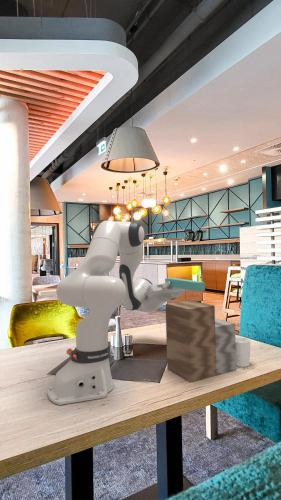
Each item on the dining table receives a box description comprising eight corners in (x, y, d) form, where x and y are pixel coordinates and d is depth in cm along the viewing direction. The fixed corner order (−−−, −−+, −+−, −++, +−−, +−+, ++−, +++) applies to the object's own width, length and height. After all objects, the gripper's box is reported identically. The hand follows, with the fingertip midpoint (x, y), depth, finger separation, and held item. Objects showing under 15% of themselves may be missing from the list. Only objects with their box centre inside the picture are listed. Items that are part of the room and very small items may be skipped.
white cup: (252, 368, 126) (251, 342, 126) (231, 367, 128) (230, 342, 128) (249, 361, 134) (249, 337, 134) (230, 360, 136) (229, 336, 136)
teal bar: (198, 291, 129) (197, 282, 129) (165, 285, 150) (165, 278, 150) (204, 290, 131) (204, 282, 131) (171, 285, 152) (171, 277, 152)
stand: (190, 382, 115) (188, 309, 115) (167, 369, 128) (165, 303, 128) (236, 369, 125) (234, 302, 125) (210, 358, 138) (208, 298, 138)
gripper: (140, 290, 154) (153, 277, 143) (176, 286, 163) (190, 274, 153) (144, 302, 151) (157, 290, 140) (180, 297, 161) (194, 286, 150)
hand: (174, 281), depth 147 cm, fingers closed on teal bar, 3 cm apart
